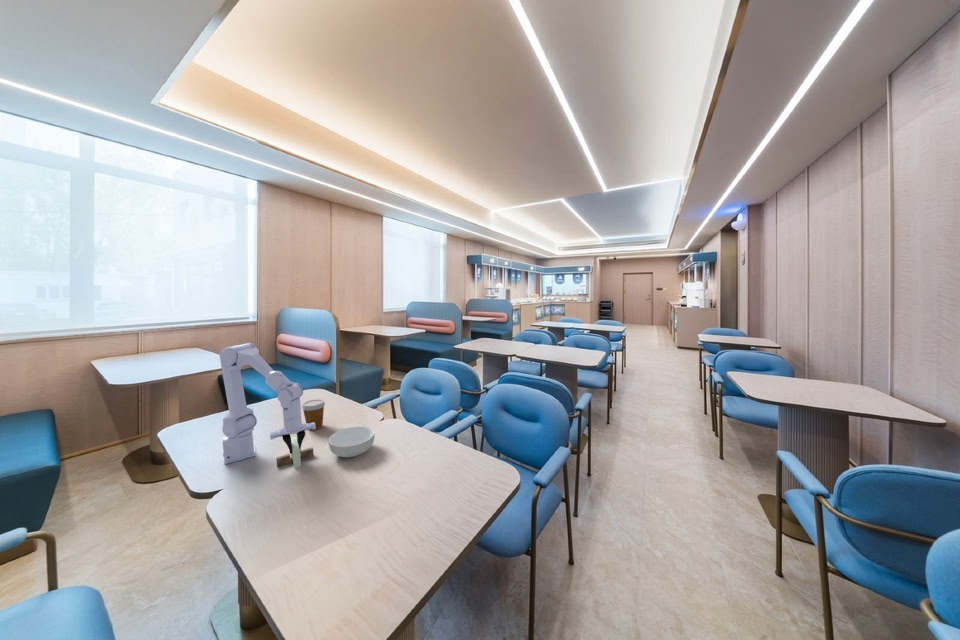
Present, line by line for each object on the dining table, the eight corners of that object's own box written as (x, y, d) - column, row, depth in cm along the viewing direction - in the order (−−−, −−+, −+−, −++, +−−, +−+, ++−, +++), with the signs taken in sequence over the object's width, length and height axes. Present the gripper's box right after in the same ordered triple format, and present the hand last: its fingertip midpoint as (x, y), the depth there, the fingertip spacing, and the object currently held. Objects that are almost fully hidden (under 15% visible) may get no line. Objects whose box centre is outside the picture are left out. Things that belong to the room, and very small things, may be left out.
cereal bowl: (359, 466, 115) (358, 448, 114) (319, 461, 118) (318, 444, 117) (382, 443, 131) (382, 427, 131) (347, 440, 135) (346, 424, 134)
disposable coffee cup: (319, 432, 142) (318, 406, 141) (298, 432, 142) (297, 406, 141) (330, 422, 152) (328, 399, 150) (310, 422, 152) (308, 399, 151)
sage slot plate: (301, 466, 115) (299, 448, 114) (294, 468, 114) (293, 450, 113) (296, 453, 124) (295, 436, 124) (290, 454, 123) (289, 437, 122)
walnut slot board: (277, 467, 115) (276, 459, 115) (276, 465, 116) (276, 457, 116) (313, 456, 122) (313, 448, 122) (313, 454, 123) (312, 447, 123)
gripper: (269, 426, 110) (272, 462, 111) (315, 415, 118) (318, 449, 120) (268, 419, 115) (271, 454, 117) (312, 409, 124) (314, 442, 125)
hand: (295, 451), depth 119 cm, fingers closed on sage slot plate, 2 cm apart
